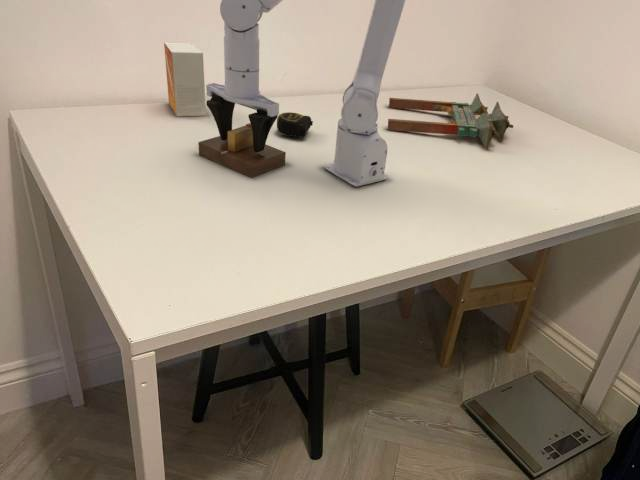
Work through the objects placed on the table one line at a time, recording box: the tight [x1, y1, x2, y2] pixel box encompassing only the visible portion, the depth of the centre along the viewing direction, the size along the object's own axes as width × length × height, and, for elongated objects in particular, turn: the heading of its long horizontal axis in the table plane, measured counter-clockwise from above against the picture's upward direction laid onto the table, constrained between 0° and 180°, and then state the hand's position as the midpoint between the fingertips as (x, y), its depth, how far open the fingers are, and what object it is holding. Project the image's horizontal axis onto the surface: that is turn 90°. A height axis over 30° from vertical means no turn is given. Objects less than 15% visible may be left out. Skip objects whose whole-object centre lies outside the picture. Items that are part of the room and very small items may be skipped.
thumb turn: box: [228, 122, 253, 152], centre depth 101 cm, size 6×2×4 cm, turn 152°
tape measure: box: [276, 111, 314, 138], centre depth 118 cm, size 7×7×4 cm
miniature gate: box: [387, 93, 514, 151], centre depth 137 cm, size 27×6×30 cm
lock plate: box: [198, 135, 287, 178], centre depth 103 cm, size 13×10×3 cm
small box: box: [163, 41, 207, 117], centre depth 118 cm, size 8×6×13 cm
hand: (242, 144), depth 102 cm, fingers open, 7 cm apart
